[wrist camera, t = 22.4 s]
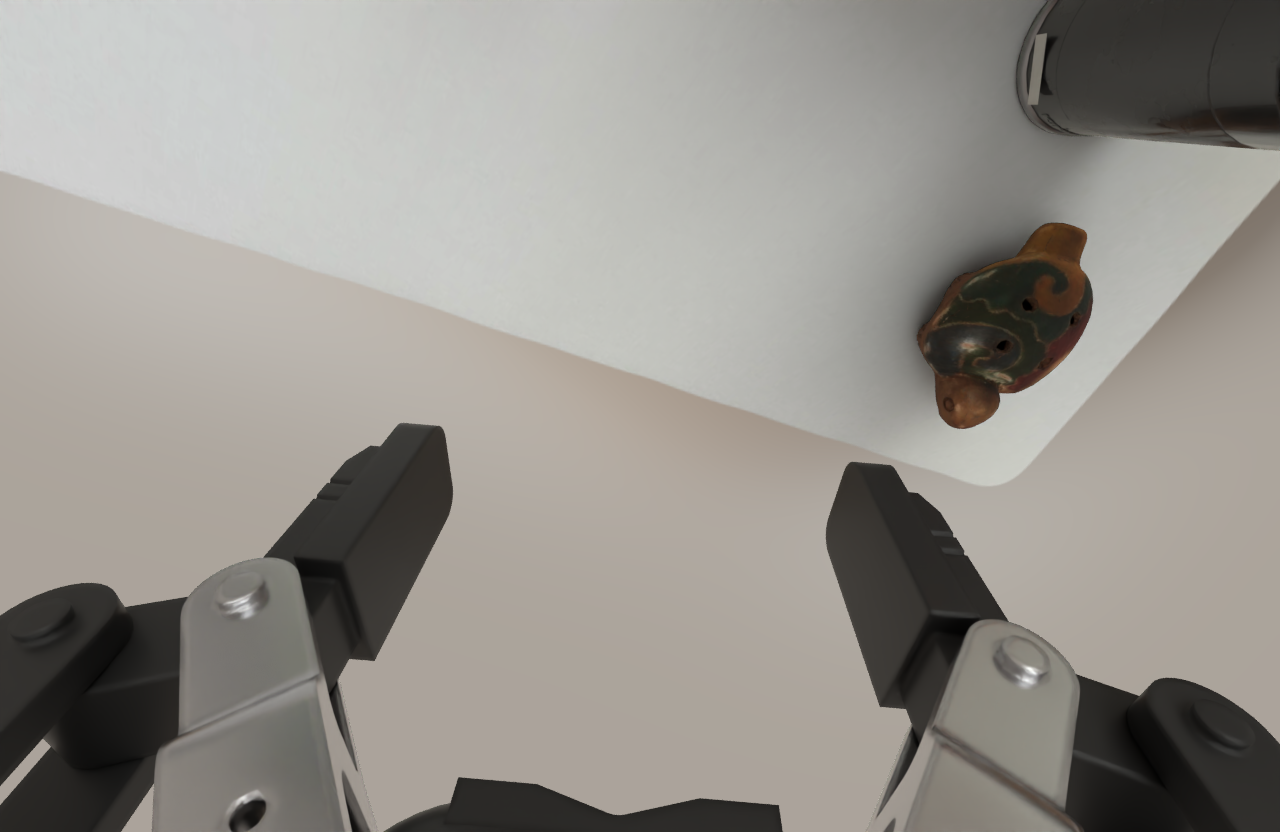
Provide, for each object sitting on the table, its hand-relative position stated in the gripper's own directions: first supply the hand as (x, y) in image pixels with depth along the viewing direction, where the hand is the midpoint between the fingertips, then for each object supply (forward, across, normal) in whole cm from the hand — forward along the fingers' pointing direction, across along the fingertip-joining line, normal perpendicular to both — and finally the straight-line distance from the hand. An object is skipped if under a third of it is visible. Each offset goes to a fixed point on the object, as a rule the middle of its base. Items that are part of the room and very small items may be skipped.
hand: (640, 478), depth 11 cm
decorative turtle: (+34, -25, +7) cm, 43 cm away
